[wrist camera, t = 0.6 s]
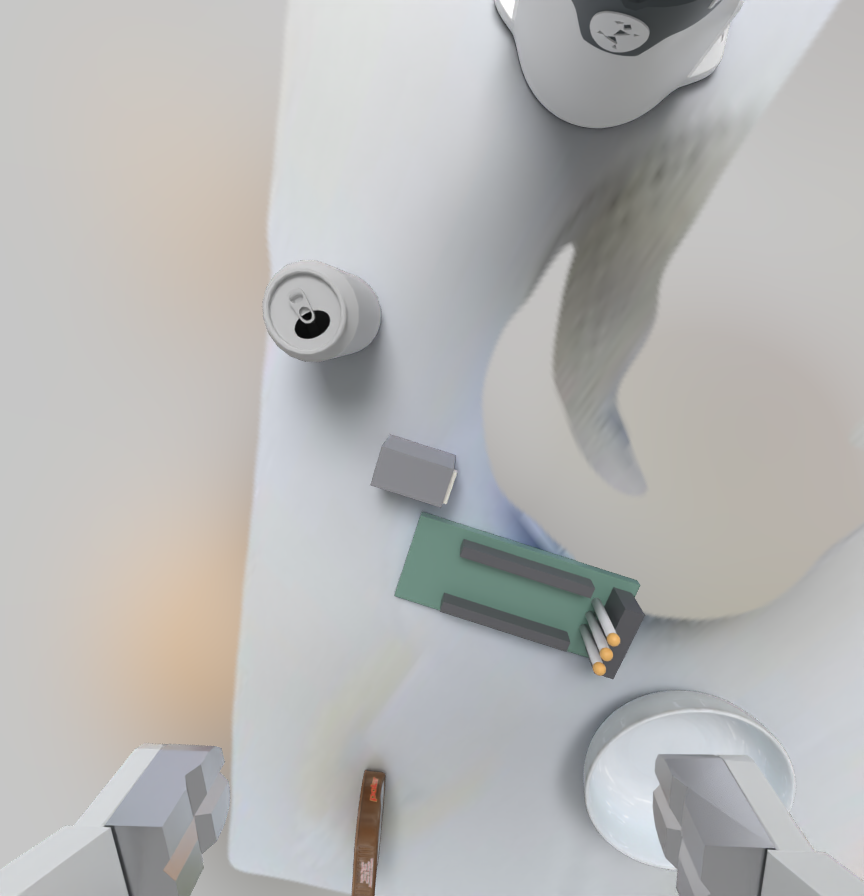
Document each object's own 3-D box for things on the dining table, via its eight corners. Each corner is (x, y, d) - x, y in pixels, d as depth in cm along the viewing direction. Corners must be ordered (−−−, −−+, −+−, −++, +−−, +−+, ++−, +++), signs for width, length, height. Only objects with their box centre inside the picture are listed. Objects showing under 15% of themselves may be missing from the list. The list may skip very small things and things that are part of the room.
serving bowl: (747, 813, 58) (783, 877, 51) (569, 805, 59) (581, 866, 53) (770, 664, 52) (814, 714, 46) (574, 661, 54) (589, 708, 47)
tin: (366, 752, 60) (350, 821, 51) (391, 756, 59) (379, 825, 51) (360, 843, 63) (344, 920, 55) (384, 847, 63) (371, 924, 55)
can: (329, 366, 48) (283, 380, 36) (292, 295, 46) (233, 285, 35) (396, 333, 46) (371, 337, 35) (361, 259, 45) (323, 237, 33)
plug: (390, 434, 49) (381, 446, 44) (459, 456, 49) (458, 470, 44) (380, 469, 50) (370, 485, 45) (447, 491, 50) (445, 509, 45)
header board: (421, 511, 51) (413, 544, 43) (637, 580, 51) (666, 625, 43) (395, 590, 53) (383, 635, 46) (600, 656, 54) (622, 711, 46)
